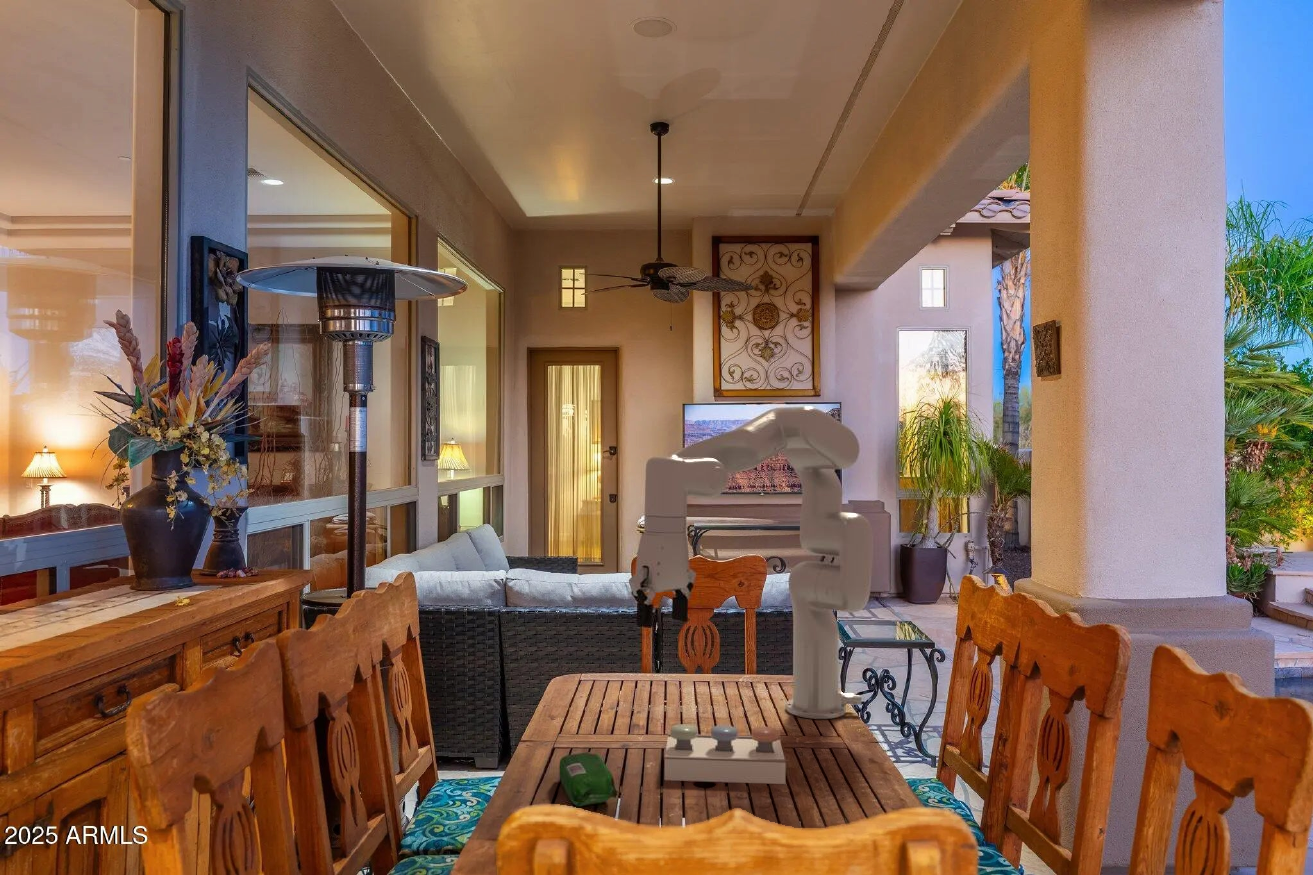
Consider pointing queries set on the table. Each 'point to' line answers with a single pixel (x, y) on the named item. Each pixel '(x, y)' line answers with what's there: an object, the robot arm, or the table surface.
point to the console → (725, 762)
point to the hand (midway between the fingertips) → (662, 623)
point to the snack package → (586, 779)
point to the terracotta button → (765, 738)
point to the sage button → (683, 735)
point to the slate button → (724, 736)
